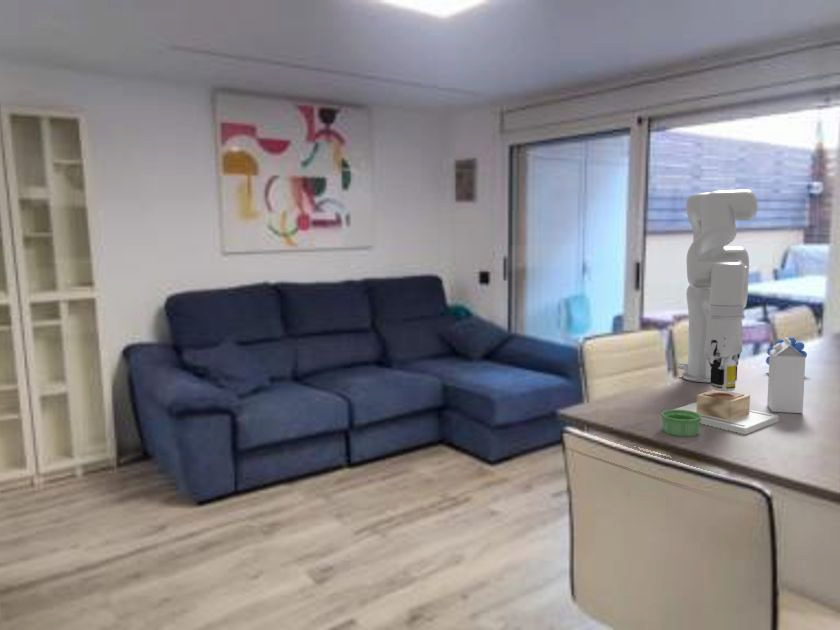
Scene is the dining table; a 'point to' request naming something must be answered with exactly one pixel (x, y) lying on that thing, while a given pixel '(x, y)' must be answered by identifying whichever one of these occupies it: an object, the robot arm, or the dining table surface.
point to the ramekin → (681, 422)
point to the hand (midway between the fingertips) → (723, 381)
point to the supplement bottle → (727, 375)
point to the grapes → (797, 346)
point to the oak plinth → (723, 404)
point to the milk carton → (786, 379)
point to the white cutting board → (736, 420)
